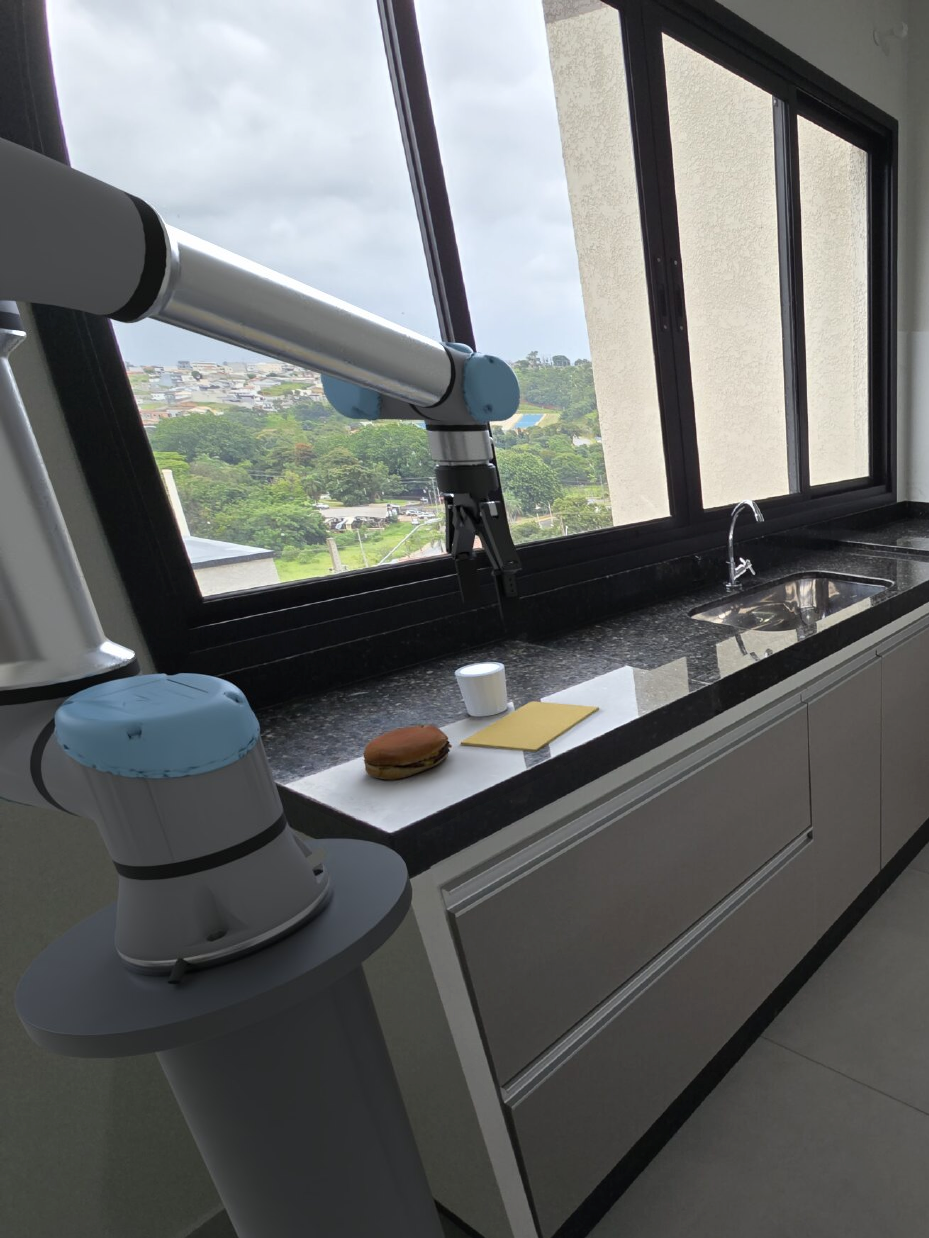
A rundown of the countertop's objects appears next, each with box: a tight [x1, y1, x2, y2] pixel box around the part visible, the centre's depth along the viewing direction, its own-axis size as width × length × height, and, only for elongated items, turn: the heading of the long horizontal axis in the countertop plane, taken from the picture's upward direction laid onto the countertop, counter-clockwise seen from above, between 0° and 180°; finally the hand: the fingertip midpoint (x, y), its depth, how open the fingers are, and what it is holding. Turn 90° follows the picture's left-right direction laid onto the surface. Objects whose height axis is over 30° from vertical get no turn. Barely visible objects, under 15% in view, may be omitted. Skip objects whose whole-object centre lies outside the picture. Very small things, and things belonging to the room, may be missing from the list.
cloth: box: [459, 700, 600, 752], centre depth 113 cm, size 16×12×1 cm
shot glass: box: [454, 661, 509, 717], centre depth 118 cm, size 7×7×7 cm
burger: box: [363, 724, 453, 781], centre depth 100 cm, size 10×9×5 cm
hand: (491, 609), depth 112 cm, fingers open, 13 cm apart
